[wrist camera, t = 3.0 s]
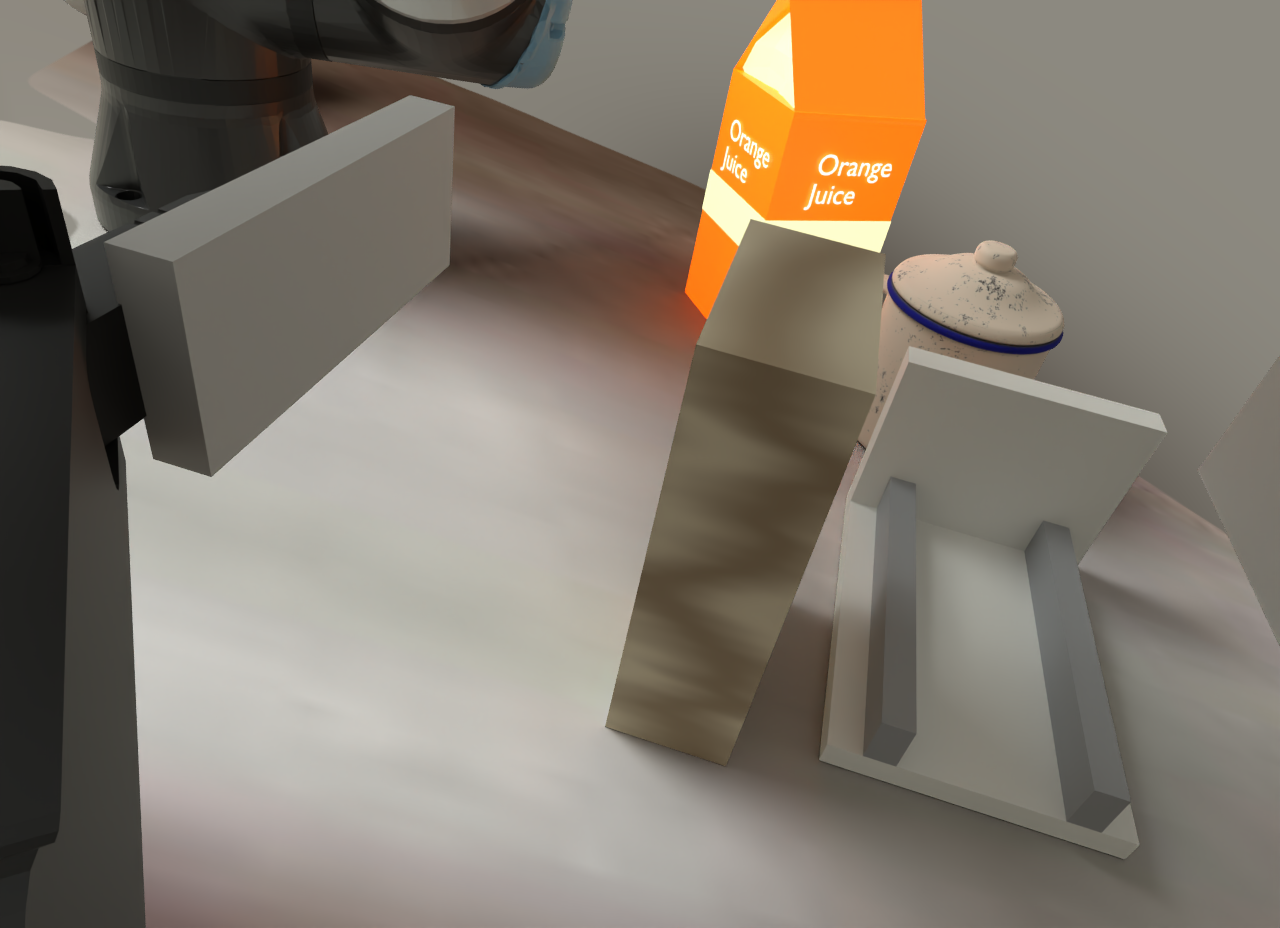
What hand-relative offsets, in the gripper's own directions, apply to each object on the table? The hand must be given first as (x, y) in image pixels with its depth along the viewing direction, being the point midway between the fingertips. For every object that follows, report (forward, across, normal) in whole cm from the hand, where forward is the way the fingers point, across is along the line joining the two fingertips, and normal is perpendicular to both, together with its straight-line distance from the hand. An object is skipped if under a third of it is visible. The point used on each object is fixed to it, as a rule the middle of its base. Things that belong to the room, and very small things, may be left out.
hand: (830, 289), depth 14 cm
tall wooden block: (+10, 0, -21) cm, 23 cm away
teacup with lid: (+32, +8, -21) cm, 39 cm away
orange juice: (+40, -2, -21) cm, 45 cm away
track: (+15, +11, -21) cm, 28 cm away
